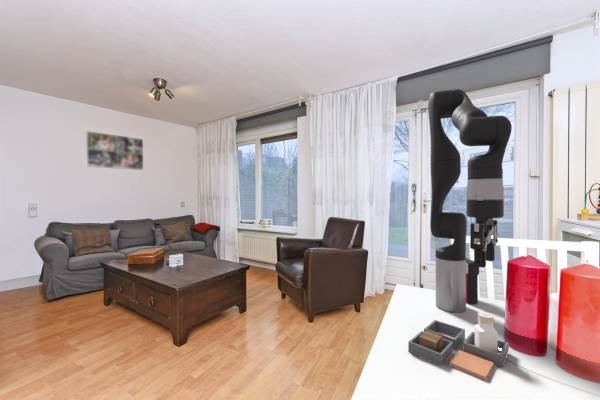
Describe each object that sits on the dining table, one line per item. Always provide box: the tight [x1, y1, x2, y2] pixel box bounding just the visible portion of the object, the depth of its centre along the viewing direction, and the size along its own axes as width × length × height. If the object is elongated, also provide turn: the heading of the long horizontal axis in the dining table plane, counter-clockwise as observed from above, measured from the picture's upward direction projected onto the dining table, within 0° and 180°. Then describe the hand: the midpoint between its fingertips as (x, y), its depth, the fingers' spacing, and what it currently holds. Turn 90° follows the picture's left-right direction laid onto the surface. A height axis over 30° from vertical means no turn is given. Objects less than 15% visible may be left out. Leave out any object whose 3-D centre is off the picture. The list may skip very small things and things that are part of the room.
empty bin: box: [423, 319, 466, 351], centre depth 73 cm, size 8×8×2 cm
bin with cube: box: [407, 330, 454, 366], centre depth 66 cm, size 8×8×2 cm
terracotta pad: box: [449, 349, 495, 382], centre depth 61 cm, size 7×7×1 cm
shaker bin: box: [462, 331, 510, 368], centre depth 66 cm, size 8×8×2 cm
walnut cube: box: [419, 331, 443, 353], centre depth 66 cm, size 4×4×4 cm
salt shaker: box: [474, 311, 499, 354], centre depth 66 cm, size 4×4×10 cm
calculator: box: [466, 257, 480, 305], centre depth 100 cm, size 11×4×15 cm, turn 178°
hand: (484, 263), depth 65 cm, fingers open, 8 cm apart
